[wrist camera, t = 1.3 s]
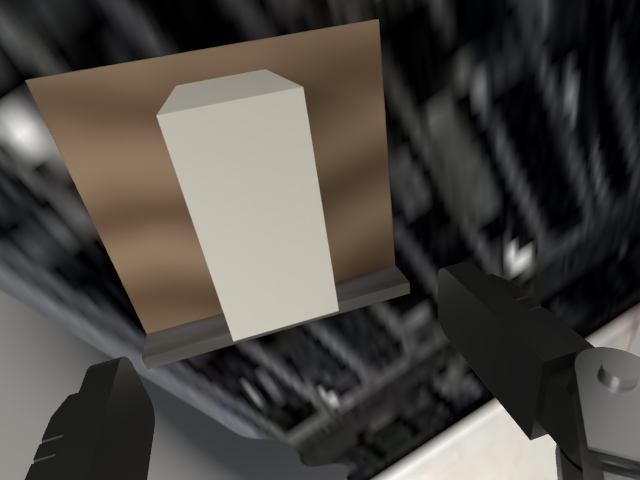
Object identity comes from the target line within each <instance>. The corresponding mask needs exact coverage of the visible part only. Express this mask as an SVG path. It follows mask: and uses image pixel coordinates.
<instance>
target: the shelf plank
mask: <svg viewBox="0 0 640 480" xmlns="http://www.w3.org/2000/svg"><path fill="white" fill-rule="evenodd" d="M263 69H266V70H268V71H271V72H273V73H275V74H277V75H279V76H281V77H283V78H286V79H288V80H290V81H292V82H294V83H296V84H298V85H300V86H303V89H304V95H305V101H306V108H307V114H308V120H309V126H310V132H311V139H312V145H313V151H314V158H315V164H316V170H317V176H318V183H319V189H320V195H321V201H322V208H323V214H324V220H325V227H326V233H327V239H328V245H329V252H330V258H331V264H332V270H333V277H334V283H335V289H336V296H337V302H338V308H339V311H337V312H333V313H330V314H326V315H323V316H320V317H316V318H313V319H309V320H306V321H302V322H299V323H295V324H292V325H288V326H285V327H282V328H278V329H275V330H271V331H268V332H264V333H261V334H257V335H254V336H250V337H247V338H244V339H240V340H237V341H233V339H232V336H231V333H230V330H229V327H228V324H227V321H226V318H225V315H224V312H223V309H222V306H221V304H220V301H219V298H218V295H217V292H216V289H215V286H214V283H213V280H212V277H211V274H210V271H209V268H208V265H207V263H206V260H205V257H204V254H203V251H202V248H201V245H200V242H199V239H198V236H197V233H196V230H195V227H194V224H193V222H192V219H191V216H190V213H189V210H188V207H187V204H186V201H185V198H184V195H183V192H182V189H181V186H180V183H179V181H178V178H177V175H176V172H175V169H174V166H173V163H172V160H171V157H170V154H169V151H168V148H167V145H166V142H165V140H164V137H163V134H162V131H161V128H160V125H159V122H158V119H157V116H156V115H157V114H158V112H159V111H160V109H161V108H162V106H163V105H164V103H165V102H166V100H167V99H168V97H169V96H170V94H171V93H172V91H173V90H174V88H175V87H176V86H177V85H182V84H188V83H193V82H199V81H204V80H209V79H215V78H220V77H226V76H231V75H236V74H242V73H247V72H253V71H258V70H263ZM25 81H26V83H27V85H28V87H29V89H30V91H31V93H32V95H33V97H34V99H35V101H36V104H37V106H38V108H39V110H40V112H41V114H42V116H43V118H44V120H45V122H46V124H47V127H48V129H49V131H50V133H51V135H52V137H53V139H54V141H55V143H56V145H57V147H58V150H59V152H60V154H61V156H62V158H63V160H64V162H65V164H66V166H67V168H68V170H69V173H70V175H71V177H72V179H73V181H74V183H75V185H76V187H77V189H78V191H79V193H80V195H81V198H82V200H83V202H84V204H85V206H86V208H87V210H88V212H89V214H90V216H91V218H92V221H93V223H94V225H95V227H96V229H97V231H98V233H99V235H100V237H101V239H102V241H103V244H104V246H105V248H106V250H107V252H108V254H109V256H110V258H111V260H112V262H113V264H114V267H115V269H116V271H117V273H118V275H119V277H120V279H121V281H122V283H123V285H124V287H125V290H126V292H127V294H128V296H129V298H130V300H131V302H132V304H133V306H134V308H135V310H136V313H137V315H138V317H139V319H140V321H141V323H142V325H143V327H144V329H145V331H146V333H147V336H146V341H145V346H144V351H143V356H142V360H143V362H144V364H145V366H146V368H147V369H151V368H154V367H158V366H161V365H165V364H168V363H172V362H175V361H178V360H182V359H185V358H189V357H192V356H196V355H199V354H202V353H206V352H209V351H213V350H216V349H220V348H223V347H227V346H230V345H233V344H237V343H240V342H244V341H247V340H251V339H254V338H257V337H261V336H264V335H268V334H271V333H275V332H278V331H282V330H285V329H288V328H292V327H295V326H299V325H302V324H306V323H309V322H313V321H316V320H319V319H323V318H326V317H330V316H333V315H337V314H340V313H343V312H347V311H350V310H354V309H357V308H361V307H364V306H368V305H371V304H374V303H378V302H381V301H385V300H388V299H392V298H395V297H398V296H402V295H405V294H409V293H410V284H409V281H408V280H407V279H406V278H405V276H404V275H403V274H402V273H401V272H400V270H399V269H398V268H397V267H396V266H395V255H394V240H393V225H392V210H391V195H390V180H389V165H388V150H387V135H386V120H385V105H384V90H383V75H382V60H381V45H380V30H379V19H376V20H368V21H363V22H357V23H351V24H345V25H339V26H334V27H328V28H322V29H316V30H311V31H305V32H299V33H293V34H287V35H282V36H276V37H270V38H264V39H259V40H253V41H247V42H241V43H235V44H230V45H224V46H218V47H212V48H207V49H201V50H195V51H189V52H184V53H178V54H172V55H166V56H160V57H155V58H149V59H143V60H137V61H132V62H126V63H120V64H114V65H108V66H103V67H97V68H91V69H85V70H80V71H74V72H68V73H62V74H56V75H51V76H45V77H39V78H34V79H29V80H25Z"/></svg>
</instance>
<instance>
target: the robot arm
mask: <svg viewBox="0 0 640 480" xmlns="http://www.w3.org/2000/svg"><path fill="white" fill-rule="evenodd" d="M438 317H439V322H440V325H441V328H442V330H443V332H444V334H445V335H446V337H447V338H448V339H449V340H450V342H451V343H452V344H453V345H454V347H455V348H456V349H457V350H458V351H459V353H460V354H461V355H462V356H463V358H464V359H465V360H466V361H467V363H468V364H469V365H470V366H471V368H472V369H473V370H474V371H475V372H476V374H477V375H478V376H479V377H480V379H481V380H482V381H483V382H484V384H485V385H486V386H487V387H488V389H489V390H490V391H491V392H492V393H493V395H494V396H495V397H496V398H497V400H498V401H499V402H500V403H501V405H502V406H503V407H504V408H505V409H506V411H507V412H508V413H509V414H510V416H511V417H512V418H513V419H514V421H515V422H516V423H517V424H518V426H519V427H520V428H521V429H522V430H523V432H524V433H525V434H526V435H527V437H528V438H529V439H530V440H533V439H535V438H538V437H541V436H544V435H546V434H549V435H550V436H551V437H552V438H553V440H554V441H555V442H556V443H557V445H556V452H555V454H556V465H557V476H558V480H640V357H638V356H636V355H633V354H631V353H629V352H626V351H623V350H619V349H614V348H607V347H596V348H595V347H594V346H593V345H591V344H590V343H589V342H587V341H586V340H585V339H584V338H582V337H581V336H580V335H579V334H577V333H576V332H575V331H573V330H572V329H571V328H570V327H568V326H567V325H566V324H565V323H563V322H562V321H561V320H560V319H558V318H557V317H556V316H554V315H553V314H552V313H551V312H549V311H548V310H547V309H546V308H544V307H543V308H542V307H541V305H540V304H539V303H538V302H537V301H535V300H534V299H533V298H532V297H528V294H526V293H525V292H524V291H523V290H521V289H520V288H519V287H518V286H516V285H515V284H514V283H513V282H510V281H508V280H505V279H503V278H501V277H498V276H496V275H493V274H491V275H485V274H484V273H483V272H482V271H481V270H479V269H478V268H477V267H476V266H475V265H473V264H472V263H471V262H468V261H466V262H462V263H459V264H455V265H452V266H448V267H444V268H441V269H440V270H439V272H438ZM154 425H155V416H154V409H153V405H152V402H151V399H150V397H149V395H148V393H147V392H146V389H145V388H144V386H143V384H142V382H141V380H140V378H139V376H138V374H137V372H136V370H135V368H134V367H133V365H132V363H131V361H130V360H129V359H128V358H127V357H120V358H117V359H113V360H110V361H106V362H103V363H99V364H95V365H92V366H90V367H89V368H88V370H87V372H86V375H85V378H84V380H83V383H82V386H81V388H80V391H79V393H75V394H72V395H69V396H68V397H67V398H66V400H65V401H64V402H63V403H62V404H61V406H60V407H59V408H58V410H57V411H56V412H55V413H54V414H53V416H52V417H51V419H50V421H49V423H48V426H47V428H46V431H45V433H44V435H43V438H42V444H40V445H39V447H38V450H37V452H36V455H35V457H34V459H33V460H34V464H31V467H30V468H29V471H28V473H27V476H26V478H25V480H147V475H148V468H149V461H150V455H151V448H152V440H153V434H154Z"/></svg>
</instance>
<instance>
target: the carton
mask: <svg viewBox="0 0 640 480" xmlns="http://www.w3.org/2000/svg"><path fill="white" fill-rule="evenodd" d="M156 116H157V119H158V122H159V125H160V128H161V131H162V134H163V137H164V140H165V142H166V145H167V148H168V151H169V154H170V157H171V160H172V163H173V166H174V169H175V172H176V175H177V178H178V181H179V183H180V186H181V189H182V192H183V195H184V198H185V201H186V204H187V207H188V210H189V213H190V216H191V219H192V222H193V224H194V227H195V230H196V233H197V236H198V239H199V242H200V245H201V248H202V251H203V254H204V257H205V260H206V263H207V265H208V268H209V271H210V274H211V277H212V280H213V283H214V286H215V289H216V292H217V295H218V298H219V301H220V304H221V306H222V309H223V312H224V315H225V318H226V321H227V324H228V327H229V330H230V333H231V336H232V339H233V341H237V340H240V339H244V338H247V337H250V336H254V335H257V334H261V333H264V332H268V331H271V330H275V329H278V328H282V327H285V326H288V325H292V324H295V323H299V322H302V321H306V320H309V319H313V318H316V317H320V316H323V315H326V314H330V313H333V312H337V311H339V308H338V302H337V296H336V289H335V283H334V277H333V270H332V264H331V258H330V252H329V245H328V239H327V233H326V227H325V220H324V214H323V208H322V201H321V195H320V189H319V183H318V176H317V170H316V164H315V158H314V151H313V145H312V139H311V132H310V126H309V120H308V114H307V108H306V101H305V95H304V89H303V86H300V85H298V84H296V83H294V82H292V81H290V80H288V79H286V78H283V77H281V76H279V75H277V74H275V73H273V72H271V71H268V70H266V69H263V70H258V71H253V72H247V73H242V74H236V75H231V76H226V77H220V78H215V79H209V80H204V81H199V82H193V83H188V84H182V85H177V86H176V87H175V88H174V90H173V91H172V93H171V94H170V96H169V97H168V99H167V100H166V102H165V103H164V105H163V106H162V108H161V109H160V111H159V112H158V114H157V115H156Z"/></svg>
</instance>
